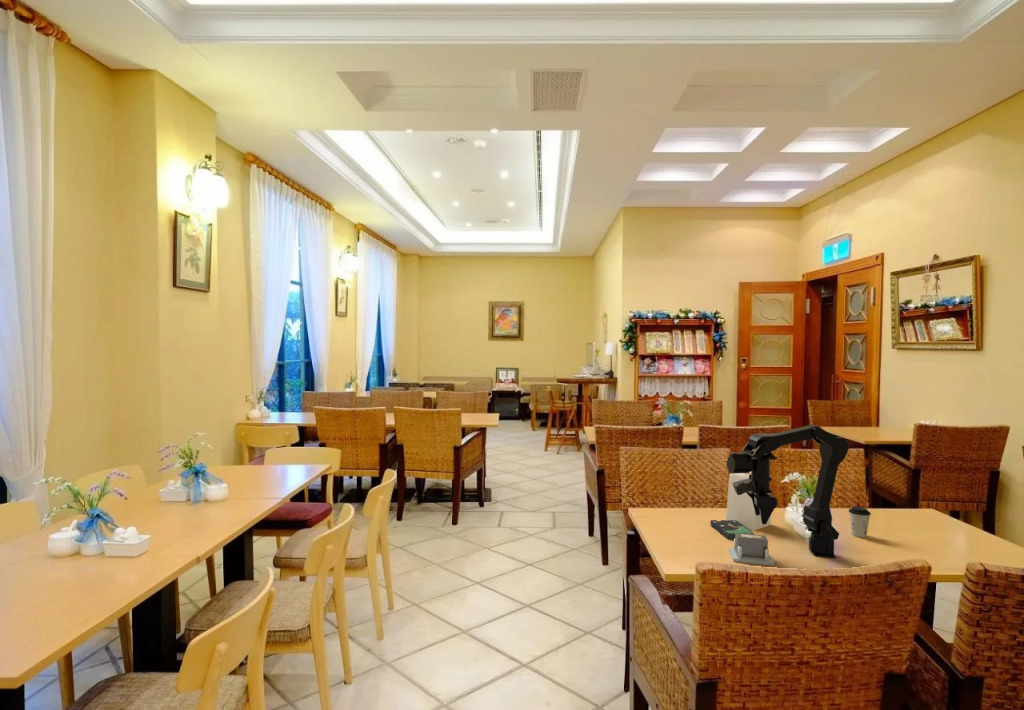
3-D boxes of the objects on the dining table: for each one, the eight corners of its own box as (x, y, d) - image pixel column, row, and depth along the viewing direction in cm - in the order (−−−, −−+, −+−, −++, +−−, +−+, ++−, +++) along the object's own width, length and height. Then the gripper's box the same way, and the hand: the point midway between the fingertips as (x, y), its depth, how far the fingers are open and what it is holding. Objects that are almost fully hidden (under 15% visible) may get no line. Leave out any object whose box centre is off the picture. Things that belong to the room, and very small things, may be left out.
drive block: (764, 553, 176) (764, 535, 175) (767, 559, 171) (768, 540, 171) (735, 550, 178) (735, 532, 178) (737, 556, 173) (737, 537, 173)
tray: (767, 554, 177) (767, 541, 177) (774, 565, 169) (774, 551, 168) (728, 551, 180) (729, 537, 180) (733, 561, 171) (733, 547, 171)
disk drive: (709, 527, 206) (727, 540, 191) (709, 519, 206) (727, 532, 191) (735, 527, 207) (755, 540, 192) (735, 519, 207) (756, 532, 192)
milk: (771, 524, 208) (772, 457, 207) (754, 530, 201) (755, 461, 201) (742, 516, 218) (744, 452, 217) (725, 521, 211) (727, 455, 211)
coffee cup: (873, 539, 193) (874, 512, 193) (852, 538, 194) (853, 510, 194) (865, 533, 200) (865, 506, 199) (844, 531, 201) (845, 505, 201)
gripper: (729, 465, 188) (729, 509, 188) (740, 478, 170) (740, 527, 170) (763, 466, 186) (763, 511, 186) (778, 480, 167) (778, 529, 168)
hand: (760, 519), depth 177 cm, fingers open, 9 cm apart
